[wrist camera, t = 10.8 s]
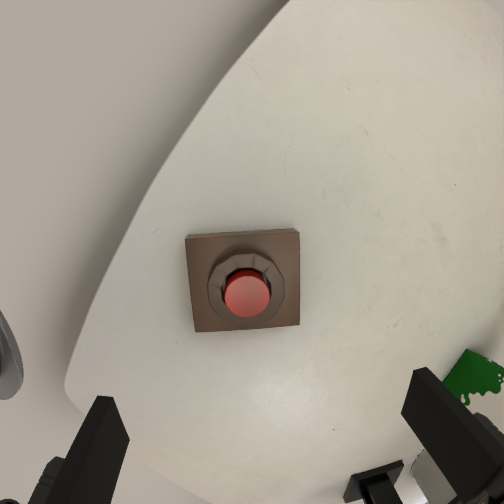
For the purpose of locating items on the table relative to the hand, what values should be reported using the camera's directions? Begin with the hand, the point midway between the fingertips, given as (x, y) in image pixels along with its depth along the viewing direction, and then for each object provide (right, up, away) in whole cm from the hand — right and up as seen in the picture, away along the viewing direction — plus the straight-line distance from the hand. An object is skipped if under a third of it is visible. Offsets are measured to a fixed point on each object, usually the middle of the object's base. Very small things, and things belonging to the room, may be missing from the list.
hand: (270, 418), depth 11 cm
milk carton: (+32, -12, +24) cm, 42 cm away
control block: (-2, +4, +18) cm, 19 cm away
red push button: (-1, +4, +15) cm, 15 cm away
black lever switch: (+21, -35, +29) cm, 50 cm away
